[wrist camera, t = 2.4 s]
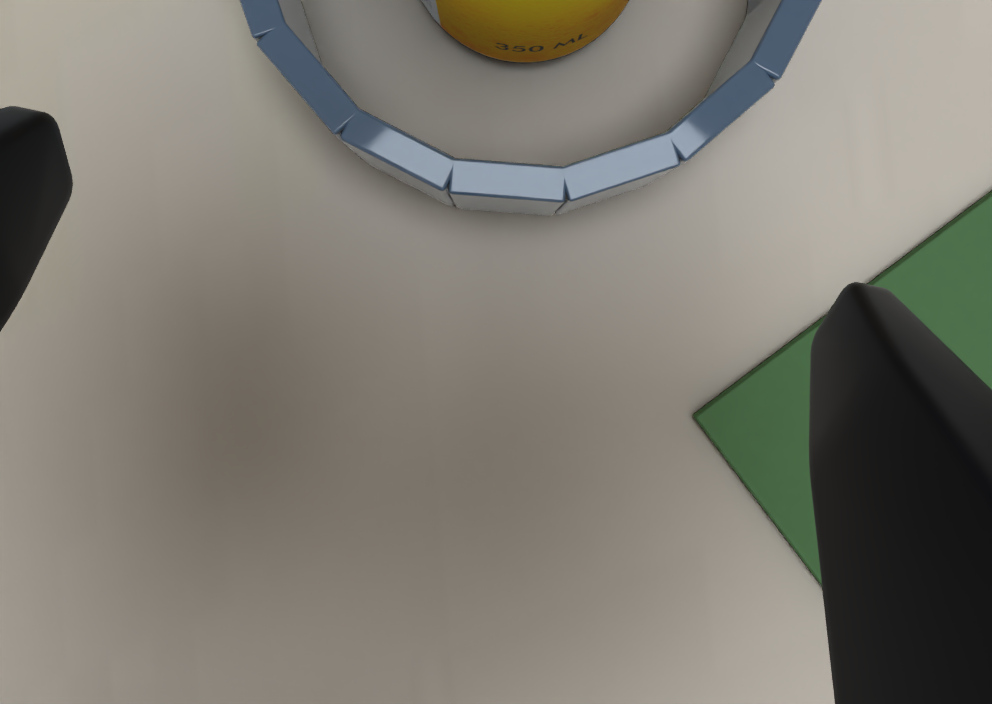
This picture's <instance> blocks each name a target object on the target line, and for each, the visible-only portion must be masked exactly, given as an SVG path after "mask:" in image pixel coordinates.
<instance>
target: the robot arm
mask: <svg viewBox="0 0 992 704" xmlns="http://www.w3.org/2000/svg"><path fill="white" fill-rule="evenodd" d="M72 186H73V182H72V174H71V170H70V167H69V163H68V159H67V156H66V152H65V148H64V145H63V141H62V137H61V134H60V130H59V127H58V124H57V122H56V121H55V119H54V118H53V117H52V116H50V115H49V114H48V113H45V112H40V111H36V110H31V109H26V108H21V107H16V106H10V107H5V108H2V109H0V331H1V330H2V328H3V327H4V325H5V324H6V322H7V320H8V319H9V317H10V316H11V314H12V312H13V311H14V309H15V307H16V306H17V304H18V302H19V301H20V299H21V297H22V295H23V293H24V291H25V289H26V288H27V286H28V284H29V282H30V280H31V278H32V275H33V273H34V271H35V269H36V267H37V265H38V263H39V261H40V259H41V257H42V255H43V253H44V251H45V249H46V247H47V245H48V243H49V240H50V238H51V236H52V234H53V232H54V230H55V228H56V226H57V224H58V222H59V220H60V218H61V216H62V214H63V212H64V210H65V208H66V205H67V203H68V201H69V199H70V196H71V193H72ZM809 468H810V481H811V490H812V499H813V508H814V517H815V526H816V535H817V544H818V553H819V563H820V572H821V581H822V590H823V599H824V608H825V617H826V626H827V635H828V644H829V653H830V662H831V671H832V680H833V689H834V698H835V704H992V389H991V388H990V387H989V386H988V385H987V384H986V383H985V382H983V381H982V380H981V379H980V378H979V377H978V376H977V375H976V374H975V373H974V372H973V371H972V370H971V369H970V368H969V367H968V366H967V365H966V364H965V363H964V362H963V361H962V360H961V359H960V358H959V357H958V356H957V355H956V354H955V353H954V352H953V351H952V350H951V349H950V348H948V347H947V346H946V345H945V344H944V343H943V342H942V341H941V340H940V339H939V338H938V337H937V336H936V335H935V334H934V333H933V332H932V331H931V330H930V329H929V328H928V327H927V326H926V325H925V324H924V323H923V322H922V321H921V320H920V319H919V318H918V317H917V316H916V315H915V314H914V313H912V312H911V311H910V310H909V309H908V308H907V307H906V306H905V305H904V304H903V303H902V302H901V301H900V300H899V299H898V298H897V297H896V296H895V295H894V294H893V293H892V292H891V291H890V290H888V289H886V288H882V287H877V286H873V285H868V284H863V283H858V282H854V283H851V284H848V285H847V286H846V287H845V288H844V289H843V290H842V292H841V293H840V295H839V296H838V298H837V299H836V301H835V303H834V304H833V306H832V307H831V309H830V311H829V312H828V314H827V315H826V317H825V318H824V320H823V322H822V323H821V325H820V326H819V328H818V330H817V331H816V333H815V336H814V338H813V341H812V345H811V353H810V409H809Z"/></svg>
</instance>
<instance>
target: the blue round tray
mask: <svg viewBox="0 0 992 704" xmlns="http://www.w3.org/2000/svg"><path fill="white" fill-rule="evenodd" d="M821 1H822V0H748V4H747V13H746V18H745V20H744V22H743V24H742V26H741V28H740V30H739V32H738V34H737V36H736V38H735V40H734V42H733V44H732V45H731V47H730V49H729V51H728V53H727V55H726V57H725V59H724V61H723V63H722V65H721V67H720V69H719V71H718V72H717V74H716V76H715V78H714V80H713V82H712V84H711V86H710V88H709V90H708V92H707V94H706V96H705V98H704V99H703V100H702V101H701V102H700V103H698V104H697V105H696V106H695V107H694V108H693V109H691V110H690V111H689V112H688V113H687V114H686V115H684V116H683V117H682V118H681V119H680V120H679V121H677V122H676V123H675V124H674V125H673V126H672V127H670V128H669V129H668V130H667V131H666V132H665V133H662V134H659V135H656V136H653V137H650V138H647V139H644V140H641V141H638V142H635V143H632V144H629V145H626V146H623V147H620V148H617V149H614V150H611V151H608V152H605V153H602V154H599V155H596V156H593V157H590V158H587V159H584V160H581V161H578V162H575V163H572V164H569V165H566V166H552V165H539V164H526V163H513V162H501V161H488V160H475V159H462V158H454V157H453V156H451V155H449V154H447V153H445V152H443V151H441V150H439V149H437V148H435V147H433V146H431V145H429V144H427V143H425V142H423V141H421V140H420V139H418V138H416V137H414V136H412V135H410V134H408V133H406V132H404V131H402V130H400V129H398V128H396V127H394V126H392V125H390V124H388V123H387V122H385V121H383V120H381V119H379V118H377V117H375V116H373V115H371V114H369V113H367V112H365V111H363V110H361V109H359V108H358V107H357V105H356V104H355V103H354V102H353V101H352V100H351V98H350V97H349V96H348V95H347V94H346V92H345V91H344V90H343V89H342V88H341V87H340V85H339V84H338V83H337V82H336V81H335V80H334V78H333V77H332V76H331V75H330V74H329V73H328V71H327V70H326V69H325V68H324V67H323V65H322V62H321V59H320V56H319V53H318V51H317V48H316V45H315V42H314V39H313V36H312V33H311V30H310V27H309V24H308V21H307V18H306V15H305V12H304V9H303V6H302V3H301V0H240V3H241V6H242V9H243V11H244V14H245V17H246V20H247V23H248V26H249V29H250V32H251V35H252V37H253V38H254V39H255V40H256V41H257V46H258V47H259V48H260V49H261V51H262V52H263V53H264V54H265V55H266V56H267V58H268V59H269V60H270V61H271V62H272V63H273V65H274V66H275V67H276V68H277V69H278V70H279V71H280V73H281V74H282V75H283V76H284V77H285V78H286V80H287V81H288V82H289V83H290V84H291V85H292V87H293V88H294V89H295V90H296V91H297V92H298V94H299V95H300V96H301V97H302V98H303V99H304V101H305V102H306V103H307V104H308V105H309V106H310V108H311V109H312V110H313V111H314V112H315V113H316V115H317V116H318V117H319V118H320V119H321V120H322V122H323V123H324V124H325V125H326V126H327V127H328V129H329V130H330V131H331V132H332V133H333V134H334V135H335V136H336V137H337V138H338V139H339V140H341V141H342V142H343V143H344V144H345V145H346V146H347V147H348V148H350V149H351V150H352V151H353V152H354V153H355V154H356V155H358V156H359V157H360V158H361V159H362V160H364V161H366V162H367V163H368V164H369V165H370V166H372V167H374V168H376V169H378V170H380V171H382V172H384V173H386V174H388V175H390V176H392V177H394V178H396V179H398V180H400V181H402V182H404V183H406V184H408V185H410V186H411V187H413V188H415V189H417V190H419V191H421V192H423V193H425V194H427V195H429V196H431V197H433V198H435V199H437V200H439V201H441V202H443V203H445V204H447V205H449V206H453V205H454V204H455V205H456V207H457V208H458V209H467V210H480V211H493V212H505V213H518V214H531V215H544V216H551V215H552V214H553V213H554V212H555V214H556V215H560V214H563V213H566V212H569V211H572V210H575V209H578V208H581V207H584V206H587V205H590V204H593V203H596V202H599V201H602V200H605V199H608V198H611V197H614V196H617V195H620V194H623V193H626V192H629V191H632V190H635V189H638V188H641V187H644V186H646V185H648V184H650V183H652V182H653V181H655V180H657V179H658V178H660V177H662V176H663V175H665V174H667V173H668V172H670V171H672V170H674V169H675V168H677V167H679V166H680V165H682V164H684V163H685V162H687V161H688V160H690V159H691V158H692V157H693V156H694V155H695V154H697V153H698V152H699V151H700V150H701V149H702V148H704V147H705V146H706V145H707V144H708V143H710V142H711V141H712V140H713V139H714V138H715V137H717V136H718V135H719V134H720V133H721V132H722V131H724V130H725V129H726V128H727V127H728V126H729V125H731V124H732V123H733V122H734V121H735V120H736V119H738V118H739V117H740V116H741V115H742V114H743V113H745V112H746V111H747V110H748V109H749V108H750V107H752V106H753V105H754V104H755V103H756V102H757V101H759V100H760V99H761V98H762V97H763V96H764V95H766V94H767V93H768V92H769V91H770V90H771V89H773V87H774V85H775V84H774V83H775V82H776V81H778V80H779V79H780V78H781V77H782V75H783V73H784V72H785V70H786V68H787V66H788V64H789V62H790V60H791V58H792V56H793V54H794V53H795V51H796V49H797V47H798V45H799V43H800V41H801V39H802V37H803V35H804V33H805V32H806V30H807V28H808V26H809V24H810V22H811V20H812V18H813V16H814V14H815V13H816V11H817V9H818V7H819V5H820V3H821Z"/></svg>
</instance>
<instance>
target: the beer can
mask: <svg viewBox="0 0 992 704" xmlns="http://www.w3.org/2000/svg"><path fill="white" fill-rule="evenodd" d="M628 1H629V0H422V2H423V4H424V5H425V7H426V8H427V10H428V11H429V12H430V14H431V15H432V17H433V18H434V19H435V20H436V21H437V22H438V24H439V25H440V26H441V27H442V28H443V29H444V30H445V31H446V32H448V33H449V34H450V35H451V36H452V37H453V38H455V39H456V40H458V41H459V42H460V43H462V44H463V45H465V46H467V47H469V48H470V49H472V50H474V51H476V52H479V53H481V54H483V55H486V56H488V57H492V58H496V59H499V60H504V61H511V62H528V63H529V62H540V61H546V60H551V59H556V58H559V57H562V56H564V55H567V54H570V53H572V52H574V51H576V50H578V49H580V48H582V47H584V46H585V45H587V44H589V43H590V42H592V41H593V40H595V39H596V38H597V37H598V36H600V35H601V34H602V33H603V32H604V31H605V30H606V29H607V28H608V27H609V26H610V25H611V24H612V23H613V22H614V21H615V20H616V19H617V17H618V16H619V15H620V13H621V12H622V11H623V9H624V8H625V6H626V4H627V3H628Z"/></svg>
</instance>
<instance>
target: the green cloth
mask: <svg viewBox="0 0 992 704" xmlns="http://www.w3.org/2000/svg"><path fill="white" fill-rule="evenodd" d="M868 285H873V286H877V287H882V288H886V289H888V290H890V291H891V292H892V293H893V294H894V295H895V296H896V297H897V298H898V299H899V300H900V301H901V302H902V303H903V304H904V305H905V306H906V307H907V308H908V309H909V310H910V311H911V312H912V313H914V314H915V315H916V316H917V317H918V318H919V319H920V320H921V321H922V322H923V323H924V324H925V325H926V326H927V327H928V328H929V329H930V330H931V331H932V332H933V333H934V334H935V335H936V336H937V337H938V338H939V339H940V340H941V341H942V342H943V343H944V344H945V345H946V346H947V347H948V348H950V349H951V350H952V351H953V352H954V353H955V354H956V355H957V356H958V357H959V358H960V359H961V360H962V361H963V362H964V363H965V364H966V365H967V366H968V367H969V368H970V369H971V370H972V371H973V372H974V373H975V374H976V375H977V376H978V377H979V378H980V379H981V380H982V381H983V382H985V383H986V384H987V385H988V386H989V387H990V388H991V389H992V191H991V192H990V193H988V194H987V195H986V196H984V197H983V198H982V199H980V200H979V201H978V202H976V203H975V204H974V205H972V206H971V207H970V208H968V209H967V210H966V211H964V212H963V213H962V214H960V215H959V216H958V217H956V218H955V219H954V220H952V221H951V222H950V223H948V224H947V225H946V226H944V227H943V228H942V229H940V230H939V231H938V232H936V233H935V234H934V235H932V236H931V237H930V238H928V239H927V240H926V241H924V242H923V243H922V244H920V245H919V246H918V247H916V248H915V249H914V250H912V251H911V252H910V253H908V254H907V255H906V256H904V257H903V258H902V259H900V260H899V261H898V262H896V263H895V264H894V265H892V266H891V267H890V268H888V269H887V270H886V271H884V272H883V273H882V274H880V275H879V276H878V277H876V278H875V279H874V280H872V281H871V282H870V283H868ZM825 317H826V315H825V316H824V317H823V318H821V319H820V320H819V321H817V322H816V323H815V324H813V325H812V326H811V327H809V328H808V329H807V330H805V331H804V332H803V333H801V334H800V335H799V336H797V337H796V338H795V339H793V340H792V341H791V342H789V343H788V344H787V345H785V346H784V347H783V348H781V349H780V350H779V351H777V352H776V353H775V354H773V355H772V356H771V357H769V358H768V359H767V360H765V361H764V362H763V363H761V364H760V365H759V366H757V367H756V368H755V369H753V370H752V371H751V372H749V373H748V374H747V375H745V376H744V377H743V378H741V379H740V380H739V381H737V382H736V383H735V384H733V385H732V386H731V387H729V388H728V389H727V390H725V391H724V392H723V393H721V394H720V395H719V396H717V397H716V398H715V399H713V400H712V401H711V402H709V403H708V404H707V405H705V406H704V407H703V408H701V409H700V410H699V411H697V412H696V413H695V414H694V415H693V417H694V418H695V419H696V421H697V422H698V423H699V425H700V426H701V427H702V429H703V430H704V431H705V433H706V434H707V435H708V437H709V438H710V439H711V441H712V442H713V443H714V445H715V446H716V447H717V449H718V450H719V451H720V452H721V454H722V455H723V456H724V458H725V459H726V460H727V462H728V463H729V464H730V466H731V467H732V468H733V470H734V471H735V472H736V474H737V475H738V476H739V478H740V479H741V480H742V482H743V483H744V484H745V486H746V487H747V488H748V490H749V491H750V492H751V493H752V495H753V496H754V497H755V499H756V500H757V501H758V503H759V504H760V505H761V507H762V508H763V509H764V511H765V512H766V513H767V515H768V516H769V517H770V519H771V520H772V521H773V523H774V524H775V525H776V527H777V528H778V529H779V530H780V532H781V533H782V534H783V536H784V537H785V538H786V540H787V541H788V542H789V544H790V545H791V546H792V548H793V549H794V550H795V552H796V553H797V554H798V556H799V557H800V558H801V560H802V561H803V562H804V564H805V565H806V566H807V568H808V569H809V570H810V571H811V573H812V574H813V575H814V577H815V578H816V579H817V581H818V582H819V583H820V585H821V586H822V581H821V572H820V563H819V553H818V544H817V535H816V526H815V517H814V508H813V499H812V490H811V481H810V468H809V409H810V353H811V345H812V341H813V338H814V336H815V333H816V331H817V330H818V328H819V326H820V325H821V323H822V322H823V320H824V318H825Z"/></svg>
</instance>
